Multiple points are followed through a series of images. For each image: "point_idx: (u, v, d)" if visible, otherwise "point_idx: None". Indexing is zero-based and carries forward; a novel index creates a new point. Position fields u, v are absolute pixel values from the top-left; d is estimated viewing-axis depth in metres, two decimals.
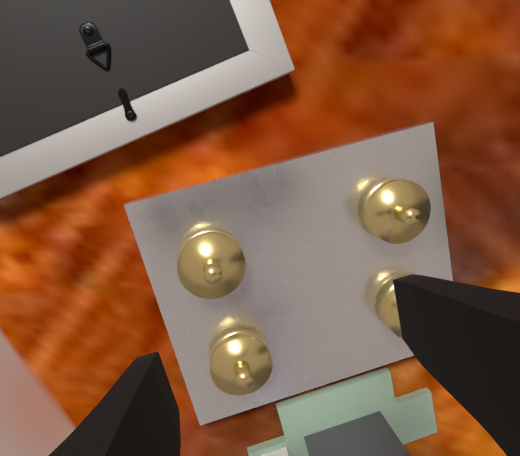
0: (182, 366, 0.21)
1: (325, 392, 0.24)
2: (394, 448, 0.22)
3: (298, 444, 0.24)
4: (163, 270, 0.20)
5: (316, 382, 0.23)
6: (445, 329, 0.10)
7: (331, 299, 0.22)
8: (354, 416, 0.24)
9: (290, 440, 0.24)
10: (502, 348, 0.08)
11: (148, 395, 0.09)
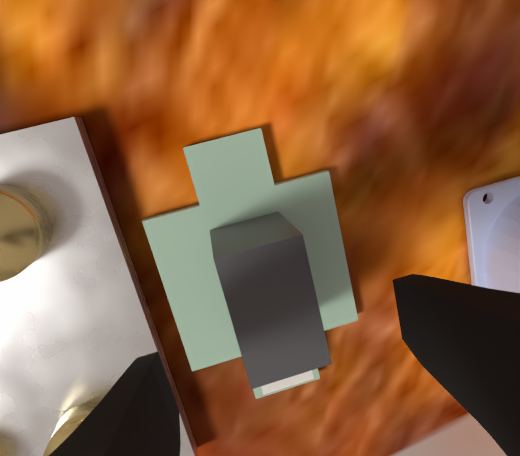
0: None
1: (172, 311, 0.17)
2: None
3: None
4: None
5: (144, 336, 0.17)
6: (445, 329, 0.10)
7: (10, 330, 0.16)
8: (215, 267, 0.17)
9: None
10: (502, 348, 0.08)
11: (148, 395, 0.09)
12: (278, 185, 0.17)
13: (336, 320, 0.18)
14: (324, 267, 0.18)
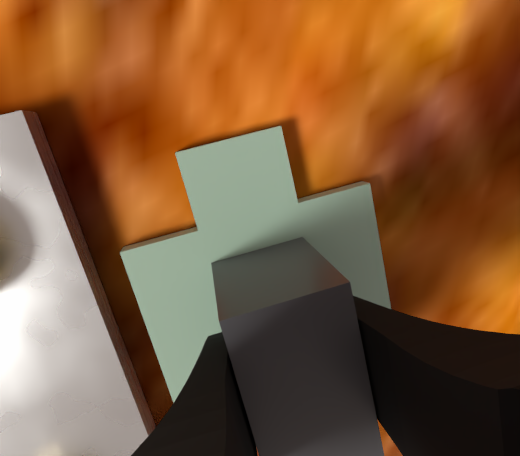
0: None
1: None
2: None
3: None
4: None
5: (124, 403, 0.12)
6: (367, 354, 0.09)
7: None
8: (218, 311, 0.13)
9: None
10: (406, 380, 0.08)
11: (232, 368, 0.09)
12: (303, 202, 0.12)
13: None
14: None
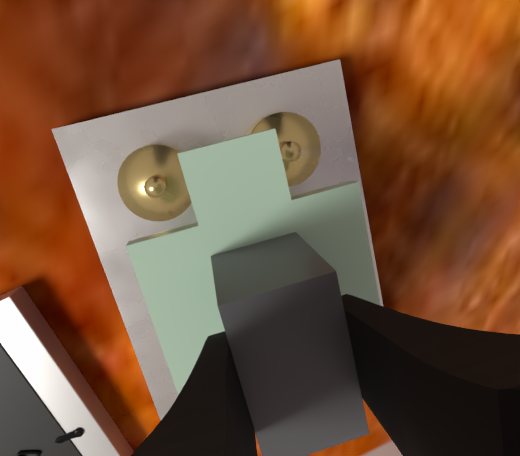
0: None
1: (164, 355, 0.14)
2: None
3: None
4: None
5: None
6: (367, 354, 0.09)
7: None
8: (217, 301, 0.14)
9: None
10: (406, 380, 0.08)
11: (232, 368, 0.09)
12: (296, 200, 0.13)
13: None
14: None
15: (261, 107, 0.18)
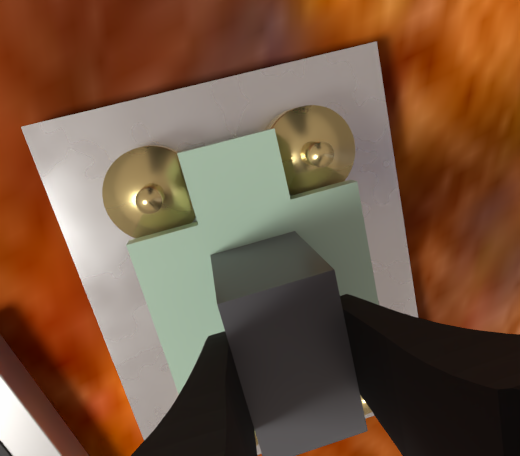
0: None
1: (164, 353, 0.14)
2: None
3: None
4: None
5: (403, 265, 0.17)
6: (367, 354, 0.09)
7: None
8: (217, 300, 0.14)
9: None
10: (406, 380, 0.08)
11: (232, 368, 0.09)
12: (295, 199, 0.13)
13: None
14: None
15: (280, 100, 0.15)
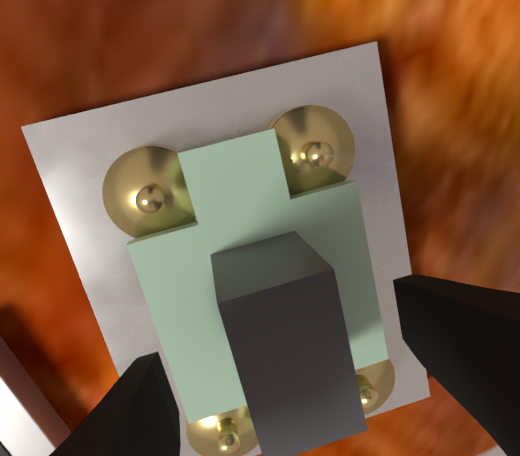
0: None
1: (165, 353, 0.14)
2: None
3: None
4: None
5: (403, 265, 0.17)
6: (445, 329, 0.10)
7: None
8: (217, 300, 0.14)
9: None
10: (502, 348, 0.08)
11: (148, 395, 0.09)
12: (295, 199, 0.13)
13: (362, 360, 0.15)
14: (349, 297, 0.15)
15: (280, 100, 0.15)
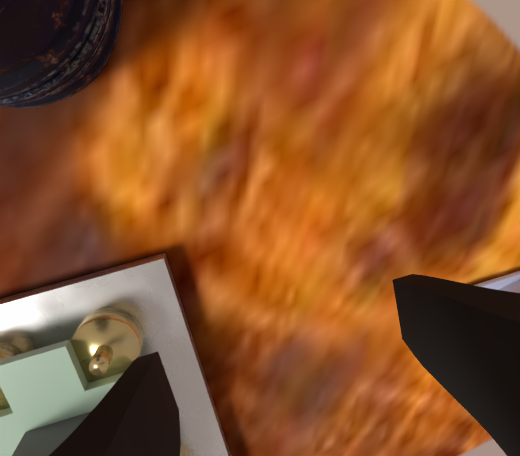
0: None
1: None
2: None
3: None
4: None
5: (207, 410, 0.22)
6: (445, 329, 0.10)
7: None
8: None
9: None
10: (502, 348, 0.08)
11: (148, 395, 0.09)
12: (88, 390, 0.18)
13: None
14: None
15: (90, 303, 0.19)
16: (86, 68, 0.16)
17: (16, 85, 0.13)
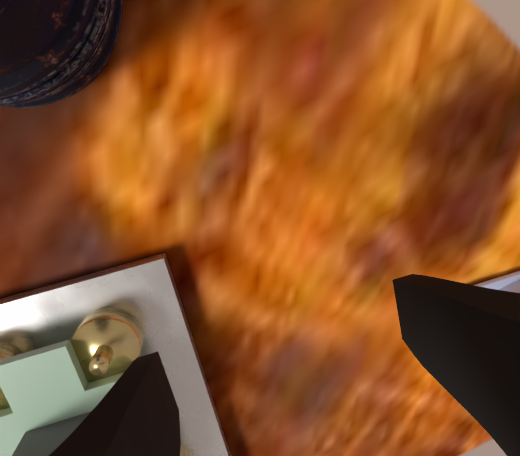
0: None
1: None
2: None
3: None
4: None
5: (207, 410, 0.22)
6: (445, 329, 0.10)
7: None
8: None
9: None
10: (502, 348, 0.08)
11: (148, 395, 0.09)
12: (88, 390, 0.18)
13: None
14: None
15: (90, 303, 0.19)
16: (86, 68, 0.16)
17: (16, 85, 0.13)
